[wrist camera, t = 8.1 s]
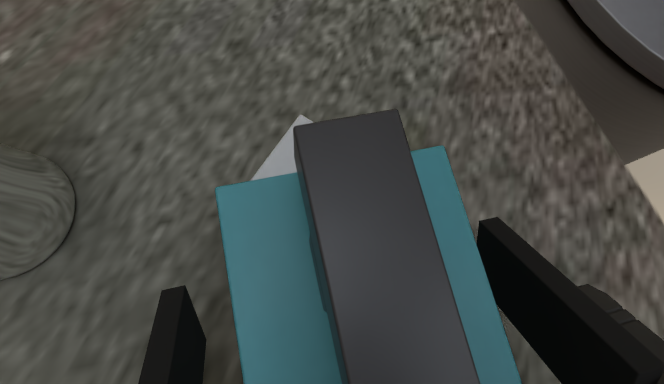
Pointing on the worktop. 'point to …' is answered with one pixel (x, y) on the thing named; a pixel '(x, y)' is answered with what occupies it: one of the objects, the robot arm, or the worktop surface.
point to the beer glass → (31, 210)
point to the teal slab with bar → (358, 264)
